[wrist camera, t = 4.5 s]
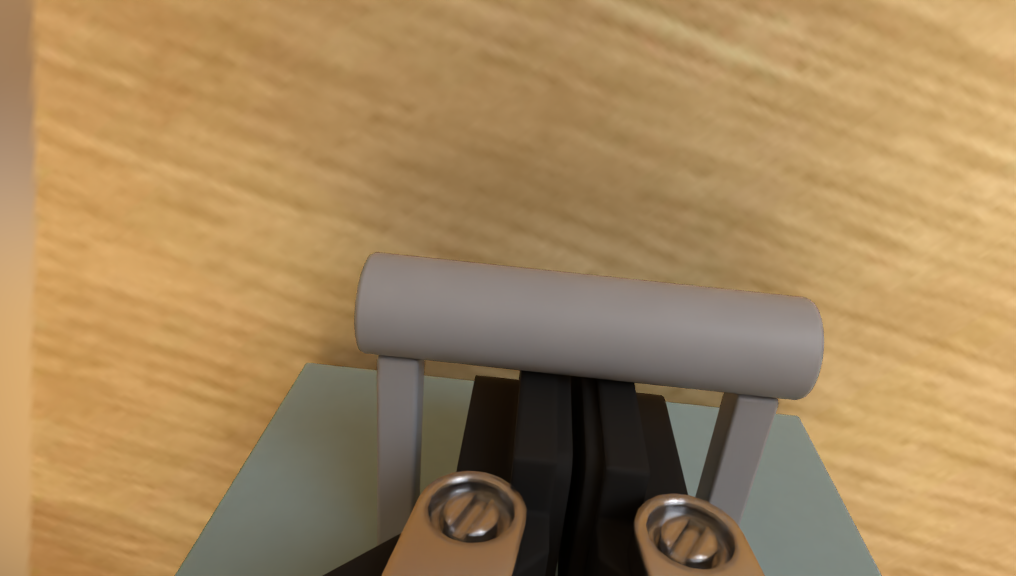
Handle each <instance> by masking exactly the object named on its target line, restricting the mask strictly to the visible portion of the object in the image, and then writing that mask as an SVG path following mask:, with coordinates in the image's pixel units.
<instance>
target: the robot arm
mask: <svg viewBox="0 0 1016 576" xmlns="http://www.w3.org/2000/svg"><path fill="white" fill-rule="evenodd" d="M557 562H558V576H765V575H764V573H763V571H762V569H761V567H760V565H759V563H758V561H757V559H756V557H755V555H754V553H753V551H752V549H751V547H750V545H749V543H748V541H747V539H746V537H745V535H744V533H743V532H742V531H741V529H740V528H739V526H738V525H737V523H736V522H735V521H734V520H733V519H732V518H731V517H730V516H729V515H727V514H726V513H725V512H724V511H723V510H722V509H720V508H718V507H716V506H715V505H713V504H711V503H709V502H708V501H705V500H702V499H699V498H696V497H693V496H690V495H688V492H687V488H686V483H685V479H684V475H683V471H682V467H681V463H680V459H679V455H678V450H677V446H676V442H675V438H674V434H673V430H672V426H671V421H670V417H669V413H668V409H667V405H666V401H665V399H664V397H663V396H662V395H653V394H644V393H636V390H635V385H634V382H625V381H615V380H606V379H597V378H588V377H579V376H569V375H560V374H551V373H542V372H532V371H523V370H520V375H519V380H515V379H506V378H496V377H487V376H478V375H476V376H475V380H474V384H473V389H472V395H471V400H470V405H469V410H468V415H467V420H466V425H465V430H464V435H463V440H462V445H461V450H460V455H459V460H458V465H457V470H456V472H453V473H450V474H447V475H445V476H442V477H439V478H437V479H436V480H435V481H433V482H432V483H430V484H429V485H428V486H426V488H425V489H424V491H423V492H422V493H421V495H420V496H419V498H418V500H417V502H416V504H415V506H414V508H413V510H412V512H411V514H410V517H409V519H408V521H407V523H406V525H405V527H404V529H403V531H402V533H400V534H398V535H396V536H395V537H393V538H391V539H389V540H387V541H385V542H384V543H382V544H380V545H378V546H376V547H374V548H372V549H371V550H369V551H367V552H365V553H363V554H361V555H360V556H358V557H356V558H354V559H352V560H350V561H349V562H347V563H345V564H343V565H341V566H339V567H337V568H336V569H334V570H332V571H330V572H328V573H326V574H325V575H323V576H555V574H556V568H557Z"/></svg>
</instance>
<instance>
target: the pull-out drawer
mask: <svg viewBox="0 0 1016 576" xmlns="http://www.w3.org/2000/svg"><path fill="white" fill-rule="evenodd" d="M354 330H355V338H356V343H357V346H358V348H359V350H360V351H362V352H363V353H366V354H375V355H379V356H378V358H377V370H370V369H361V368H352V367H343V366H333V365H324V364H315V363H306V364H305V366H304V368H303V369H302V371H301V372H300V374H299V376H298V377H297V379H296V381H295V382H294V384H293V385H292V387H291V389H290V390H289V392H288V393H287V395H286V397H285V398H284V400H283V402H282V403H281V405H280V406H279V408H278V410H277V411H276V413H275V414H274V416H273V418H272V419H271V421H270V423H269V424H268V426H267V427H266V429H265V431H264V432H263V434H262V436H261V437H260V439H259V440H258V442H257V444H256V445H255V447H254V448H253V450H252V452H251V453H250V455H249V457H248V458H247V460H246V461H245V463H244V465H243V466H242V468H241V469H240V471H239V473H238V474H237V476H236V478H235V479H234V481H233V482H232V484H231V486H230V487H229V489H228V490H227V492H226V494H225V495H224V497H223V499H222V500H221V502H220V503H219V505H218V507H217V508H216V510H215V511H214V513H213V515H212V516H211V518H210V520H209V521H208V523H207V524H206V526H205V528H204V529H203V531H202V532H201V534H200V536H199V537H198V539H197V541H196V542H195V544H194V545H193V547H192V549H191V550H190V552H189V553H188V555H187V557H186V558H185V560H184V562H183V563H182V565H181V566H180V568H179V570H178V571H177V573H176V574H175V576H323V575H325V574H326V573H328V572H330V571H332V570H334V569H336V568H337V567H339V566H341V565H343V564H345V563H347V562H349V561H350V560H352V559H354V558H356V557H358V556H360V555H361V554H363V553H365V552H367V551H369V550H371V549H372V548H374V547H376V546H378V545H380V544H382V543H384V542H385V541H387V540H389V539H391V538H393V537H395V536H396V535H398V534H400V533H402V531H403V529H404V527H405V525H406V523H407V521H408V519H409V517H410V514H411V512H412V510H413V508H414V506H415V504H416V502H417V500H418V498H419V496H420V495H421V493H422V492H423V491H424V489H425V488H426V486H428V485H429V484H430V483H432V482H433V481H435V480H436V479H437V478H439V477H442V476H445V475H447V474H450V473H453V472H456V470H457V465H458V460H459V455H460V450H461V445H462V440H463V435H464V430H465V425H466V420H467V415H468V410H469V405H470V400H471V395H472V389H473V384H474V381H471V380H462V379H453V378H444V377H434V376H425V375H424V362H425V360H431V361H440V362H449V363H459V364H468V365H477V366H486V367H495V368H505V369H514V370H523V371H532V372H542V373H551V374H560V375H569V376H579V377H588V378H597V379H606V380H615V381H625V382H634V383H643V384H652V385H662V386H671V387H680V388H689V389H699V390H708V391H717V392H724V394H723V398H722V401H721V405H720V408H719V407H710V406H701V405H692V404H682V403H673V402H666V405H667V409H668V413H669V417H670V421H671V426H672V430H673V434H674V438H675V442H676V446H677V450H678V455H679V459H680V463H681V467H682V471H683V475H684V479H685V483H686V488H687V492H688V495H690V496H693V497H696V498H699V499H702V500H705V501H708V502H709V503H711V504H713V505H715V506H716V507H718V508H720V509H722V510H723V511H724V512H725V513H726V514H727V515H729V516H730V517H731V518H732V519H733V520H734V521H735V522H736V523H737V525H738V526H739V528H740V529H741V531H742V532H743V533H744V535H745V537H746V539H747V541H748V543H749V545H750V547H751V549H752V551H753V553H754V555H755V557H756V559H757V561H758V563H759V565H760V567H761V569H762V571H763V573H764V575H765V576H882V575H881V573H880V572H879V570H878V568H877V566H876V564H875V562H874V560H873V558H872V556H871V554H870V552H869V550H868V549H867V547H866V545H865V543H864V541H863V539H862V537H861V535H860V533H859V531H858V529H857V527H856V526H855V524H854V522H853V520H852V518H851V516H850V514H849V512H848V510H847V508H846V506H845V504H844V503H843V501H842V499H841V497H840V495H839V493H838V491H837V489H836V487H835V485H834V483H833V481H832V480H831V478H830V476H829V474H828V472H827V470H826V468H825V466H824V464H823V462H822V460H821V458H820V457H819V455H818V453H817V451H816V449H815V447H814V445H813V443H812V441H811V439H810V437H809V435H808V434H807V432H806V430H805V428H804V426H803V424H802V422H801V420H800V418H799V417H798V416H793V415H784V414H776V410H777V407H778V404H779V403H778V399H777V398H782V399H791V400H797V399H801V398H804V397H805V396H807V395H808V394H809V393H810V391H811V390H812V389H813V387H814V385H815V383H816V381H817V378H818V376H819V372H820V369H821V365H822V359H823V351H824V331H823V324H822V319H821V316H820V312H819V310H818V308H817V306H816V305H815V304H814V303H813V302H812V301H811V300H809V299H807V298H805V297H799V296H789V295H780V294H770V293H761V292H751V291H742V290H732V289H723V288H713V287H704V286H694V285H684V284H675V283H665V282H656V281H646V280H637V279H627V278H618V277H608V276H599V275H589V274H580V273H570V272H561V271H551V270H541V269H532V268H522V267H513V266H503V265H494V264H484V263H475V262H465V261H456V260H446V259H437V258H427V257H418V256H408V255H399V254H389V253H379V252H376V253H373V254H370V255H369V257H368V258H367V260H366V262H365V264H364V266H363V269H362V272H361V275H360V279H359V283H358V288H357V293H356V301H355V312H354ZM555 576H558V562H557V568H556V574H555Z"/></svg>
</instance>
